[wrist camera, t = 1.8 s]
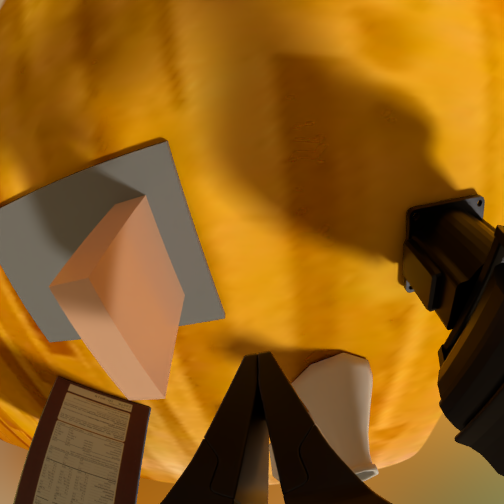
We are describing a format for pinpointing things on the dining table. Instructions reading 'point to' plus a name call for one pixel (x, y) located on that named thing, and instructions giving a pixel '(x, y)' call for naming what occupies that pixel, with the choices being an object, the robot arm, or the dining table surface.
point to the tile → (125, 299)
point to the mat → (86, 219)
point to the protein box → (84, 449)
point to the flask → (341, 407)
